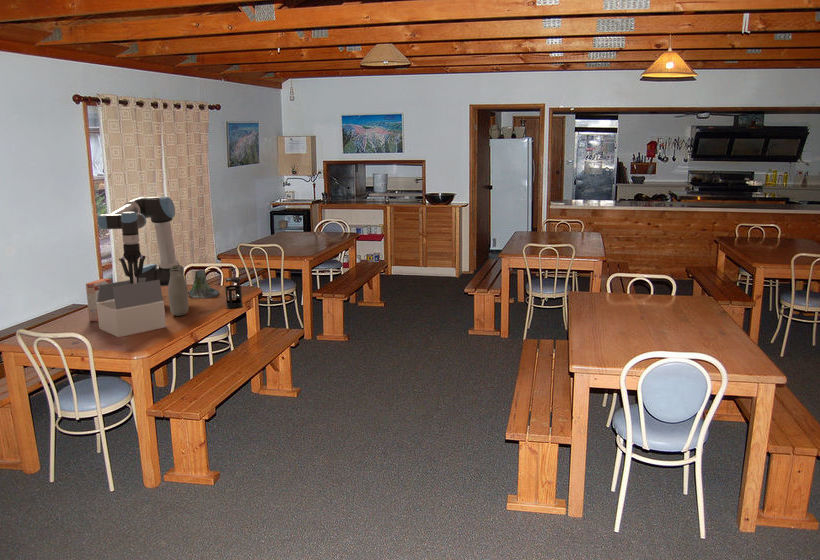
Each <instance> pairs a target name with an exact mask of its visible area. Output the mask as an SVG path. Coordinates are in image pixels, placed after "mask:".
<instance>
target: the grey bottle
mask: <svg viewBox="0 0 820 560" xmlns="http://www.w3.org/2000/svg"><path fill="white" fill-rule="evenodd" d="M179 265H180V264H179ZM179 265H175V266H172V267H170V281H169V285H168V286H167V293H168V302H169V303H168V305H169V311H170V313H171V315H173V316H176V317H180V316H181V317H182V316H185V315H186V314H187V313H188V311H189V294H188V291H189V290H188V283H187V281H186V278H185V270H184V269H183V268H184V266H183V265H180V266H179ZM182 266H183V267H182Z"/></svg>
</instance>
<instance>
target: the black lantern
mask: <svg viewBox="0 0 820 560" xmlns="http://www.w3.org/2000/svg"><path fill="white" fill-rule="evenodd" d="M236 269H237V268H236V267H229V268H228V270H229V271H231V274H232V275H231V276H230V277H226V278H224V280H225V284H226V283H228V282H232V284H231V285H227V286H225V287H224V288H225V298H226V302H225V303H226V307H225V308H226V309H228V310H237V309H242V308H243V307H244V305H243V297H242V296H243V293H242V286H241V285H240V284H239V283H241V280H242V277H240V276H234V274H233V273H234V270H236ZM234 283H235V284H236V285H234Z"/></svg>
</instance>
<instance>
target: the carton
mask: <svg viewBox="0 0 820 560" xmlns="http://www.w3.org/2000/svg"><path fill="white" fill-rule="evenodd" d="M97 313H98V329H99V330H101V331H103V332H105V333H108V334H110V335H113V336H115V337H117V338H121V337H126V336H129V335H135V334H140V333H144V332H149V331H154V330H158V329H163V328H166V327H167V324H166V323H167V322H166V312H165V302H164V300H163V301H157V302H152V303H147V304H141V305H136V306H131V307H125V308H120V309H116V305H115V300H114V299H113V300H112V301H106V302H101V303H97Z"/></svg>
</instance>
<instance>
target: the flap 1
mask: <svg viewBox="0 0 820 560" xmlns="http://www.w3.org/2000/svg"><path fill="white" fill-rule="evenodd" d="M138 281H139V282H138V283H142V282H145V281H146V278H140V279H138ZM130 284H131V283H130V279H128V280H122V281H115V282H111V283H108V284H102V285H100V286H99V292H98V299H97V302H100V301H106V300H111V299H113V300H114V294H113V288H112V287H118V286H124V285H130Z"/></svg>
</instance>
